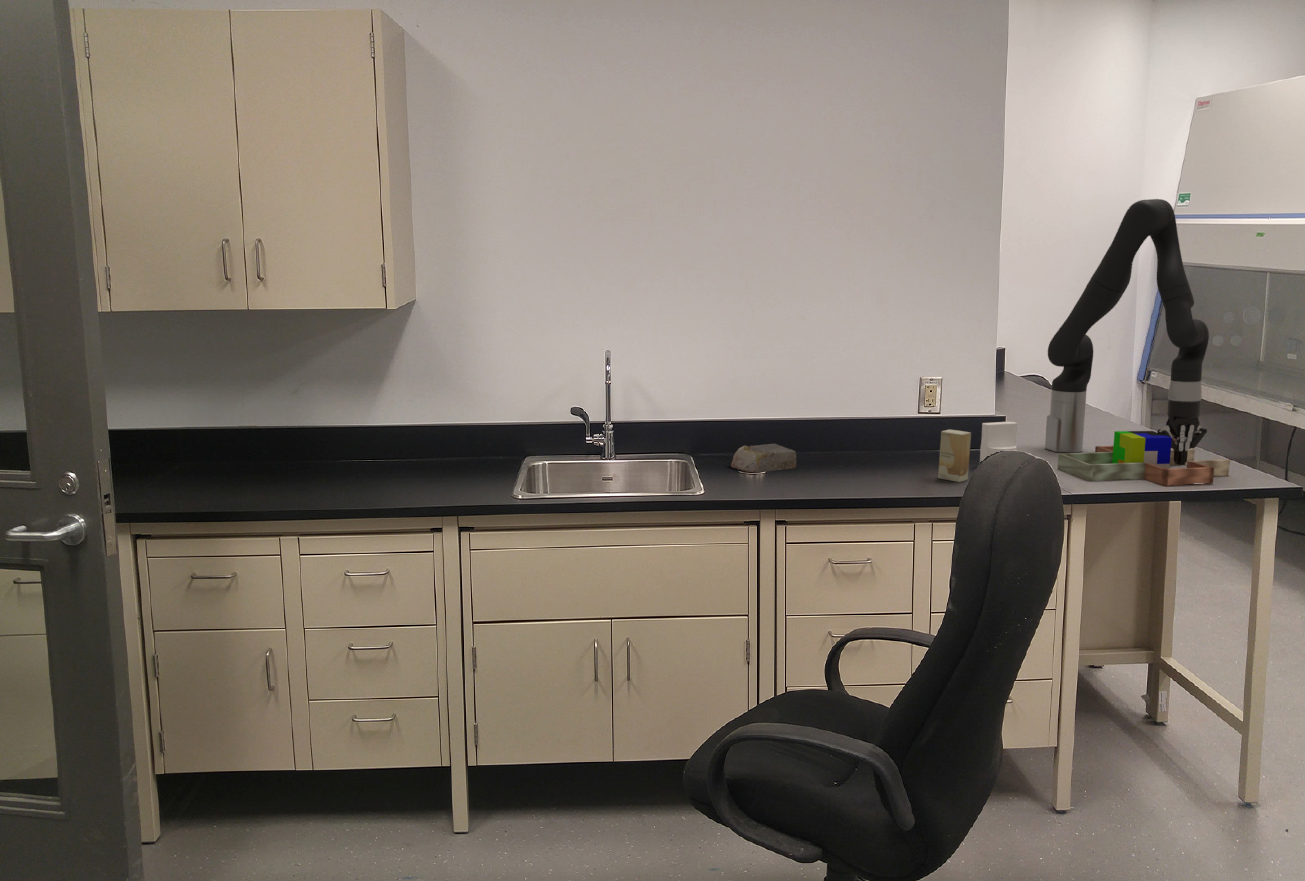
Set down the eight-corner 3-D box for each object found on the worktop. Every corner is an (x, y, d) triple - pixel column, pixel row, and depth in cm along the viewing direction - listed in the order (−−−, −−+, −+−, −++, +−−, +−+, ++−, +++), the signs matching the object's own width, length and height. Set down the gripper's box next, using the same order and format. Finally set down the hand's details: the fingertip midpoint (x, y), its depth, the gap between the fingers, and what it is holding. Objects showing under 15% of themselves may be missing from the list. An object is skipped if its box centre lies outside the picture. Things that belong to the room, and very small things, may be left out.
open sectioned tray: (1106, 488, 258) (1107, 472, 258) (1042, 462, 289) (1043, 448, 288) (1250, 482, 264) (1251, 466, 263) (1172, 457, 294) (1173, 443, 293)
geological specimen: (799, 450, 283) (752, 452, 276) (797, 472, 284) (750, 475, 277) (776, 442, 292) (729, 444, 285) (774, 464, 294) (728, 467, 286)
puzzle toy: (1168, 476, 271) (1171, 437, 269) (1129, 477, 270) (1132, 438, 269) (1149, 468, 280) (1152, 430, 279) (1111, 468, 280) (1114, 431, 278)
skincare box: (937, 478, 270) (939, 430, 268) (946, 476, 273) (948, 428, 271) (960, 482, 265) (962, 434, 263) (969, 479, 268) (971, 431, 266)
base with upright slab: (992, 472, 277) (994, 426, 275) (972, 465, 285) (975, 421, 283) (1022, 470, 279) (1025, 425, 277) (1002, 463, 288) (1004, 419, 285)
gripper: (1169, 401, 269) (1165, 468, 272) (1217, 399, 271) (1212, 466, 274) (1151, 397, 277) (1147, 463, 280) (1198, 395, 279) (1194, 460, 282)
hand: (1180, 464), depth 277 cm, fingers closed
